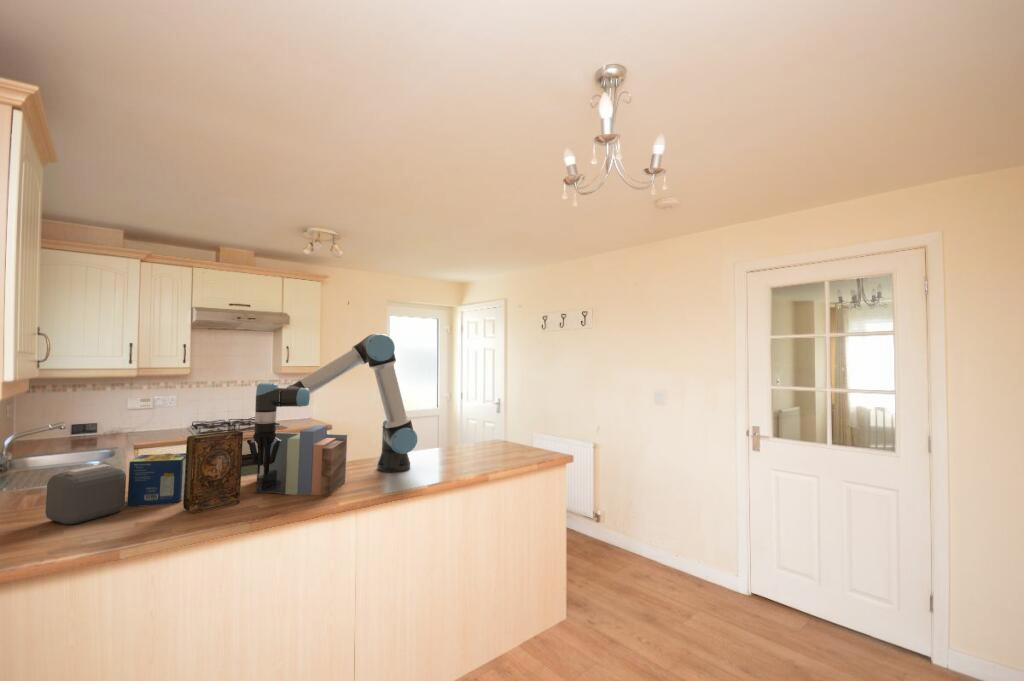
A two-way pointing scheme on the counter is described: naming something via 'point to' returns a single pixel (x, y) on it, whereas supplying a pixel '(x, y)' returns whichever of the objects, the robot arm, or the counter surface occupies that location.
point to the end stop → (332, 467)
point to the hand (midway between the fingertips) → (262, 481)
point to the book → (212, 471)
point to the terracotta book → (318, 464)
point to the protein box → (156, 479)
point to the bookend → (272, 481)
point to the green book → (292, 465)
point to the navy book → (308, 456)
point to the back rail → (283, 451)
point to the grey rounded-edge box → (85, 494)
